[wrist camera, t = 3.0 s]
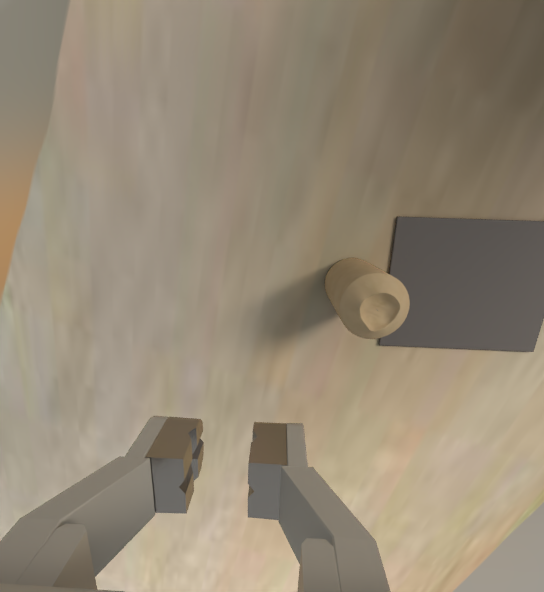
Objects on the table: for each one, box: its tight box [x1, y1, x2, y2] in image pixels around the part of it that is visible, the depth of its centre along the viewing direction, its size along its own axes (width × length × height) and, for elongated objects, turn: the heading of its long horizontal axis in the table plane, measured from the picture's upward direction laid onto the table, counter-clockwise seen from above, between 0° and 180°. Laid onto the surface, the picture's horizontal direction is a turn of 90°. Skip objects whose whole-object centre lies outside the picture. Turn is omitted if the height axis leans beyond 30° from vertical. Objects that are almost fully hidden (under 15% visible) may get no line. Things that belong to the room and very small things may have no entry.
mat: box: [379, 217, 544, 352], centre depth 31 cm, size 17×14×1 cm
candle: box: [325, 258, 410, 339], centre depth 26 cm, size 6×6×10 cm
